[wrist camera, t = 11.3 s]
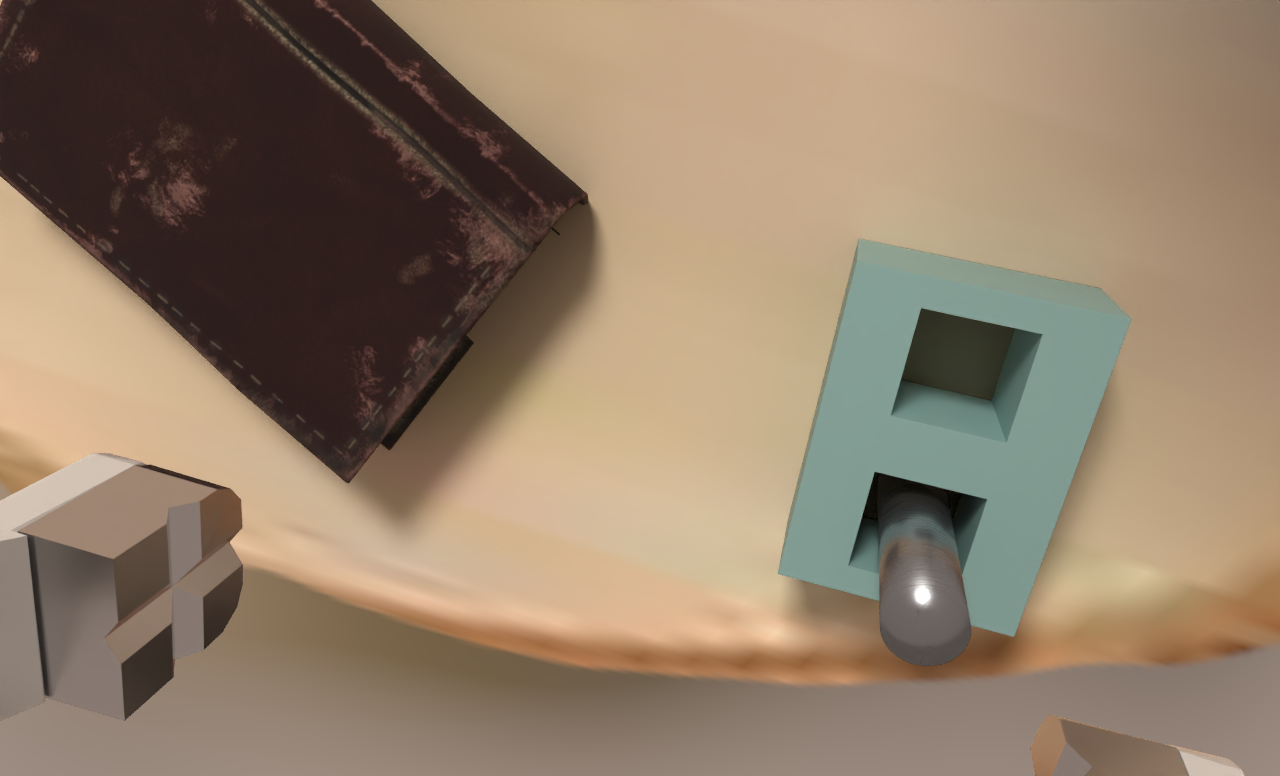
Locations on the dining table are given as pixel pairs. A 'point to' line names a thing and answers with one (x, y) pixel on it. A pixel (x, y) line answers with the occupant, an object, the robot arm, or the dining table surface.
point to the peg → (919, 574)
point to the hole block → (951, 423)
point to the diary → (278, 193)
